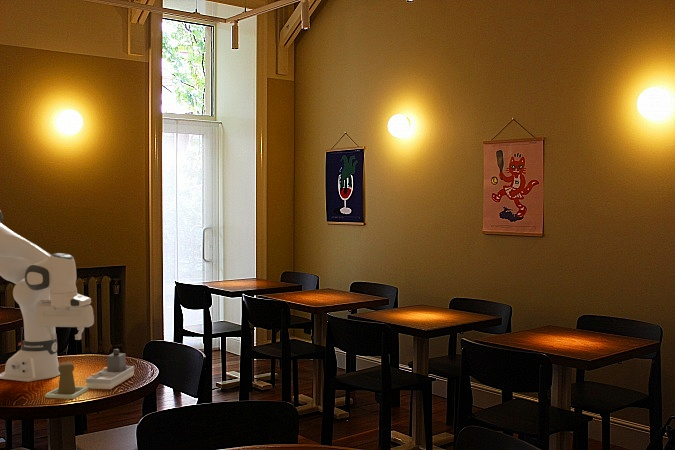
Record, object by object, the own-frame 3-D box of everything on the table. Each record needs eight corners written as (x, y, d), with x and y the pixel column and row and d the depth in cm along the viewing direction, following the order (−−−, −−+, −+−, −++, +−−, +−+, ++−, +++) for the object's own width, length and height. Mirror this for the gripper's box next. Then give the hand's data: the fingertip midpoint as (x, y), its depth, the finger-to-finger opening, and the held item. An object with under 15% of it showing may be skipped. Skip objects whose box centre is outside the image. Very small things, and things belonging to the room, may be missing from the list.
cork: (62, 391, 256) (61, 360, 255) (78, 391, 255) (78, 360, 255) (54, 396, 249) (53, 365, 249) (72, 396, 249) (71, 365, 249)
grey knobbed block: (107, 374, 270) (106, 350, 270) (113, 371, 275) (113, 347, 275) (120, 374, 269) (119, 351, 269) (126, 371, 274) (125, 348, 274)
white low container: (85, 388, 259) (84, 377, 259) (110, 374, 278) (109, 364, 278) (111, 389, 258) (110, 378, 257) (134, 375, 276) (134, 365, 276)
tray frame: (45, 397, 248) (45, 394, 248) (61, 389, 258) (61, 385, 258) (72, 398, 247) (72, 395, 246) (87, 390, 257) (87, 387, 257)
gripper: (31, 301, 249) (33, 340, 250) (86, 301, 246) (87, 341, 246) (41, 298, 255) (43, 337, 256) (95, 298, 252) (97, 337, 253)
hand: (65, 339), depth 251 cm, fingers open, 8 cm apart
